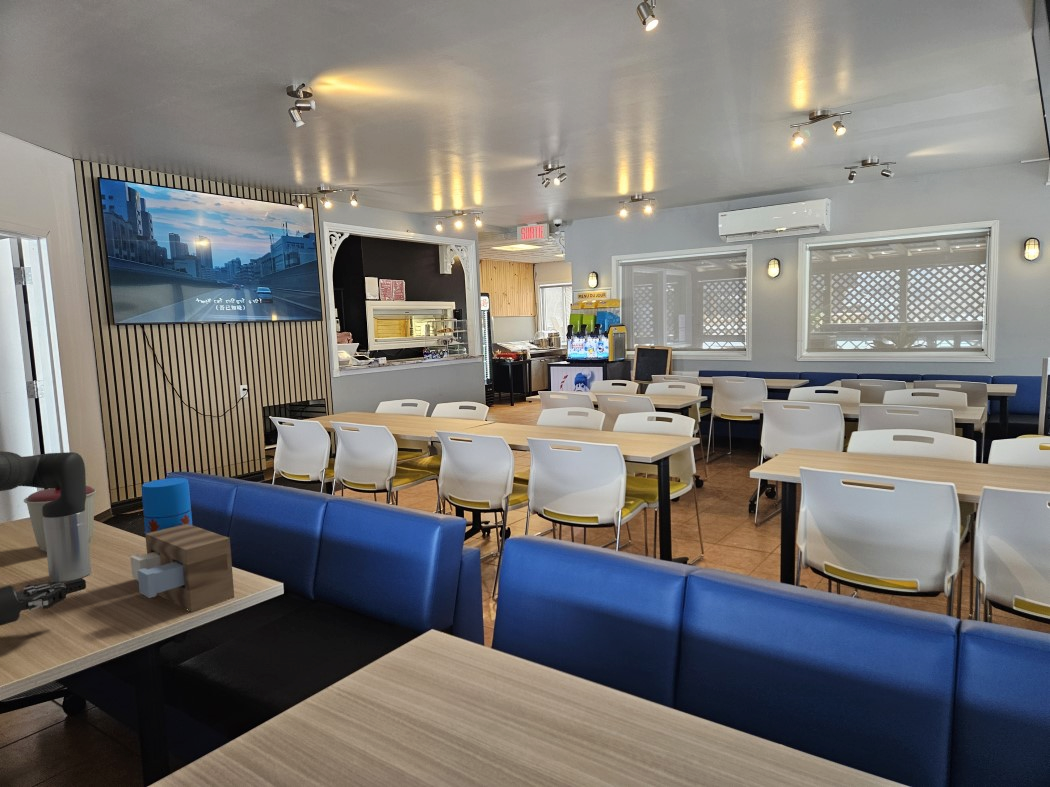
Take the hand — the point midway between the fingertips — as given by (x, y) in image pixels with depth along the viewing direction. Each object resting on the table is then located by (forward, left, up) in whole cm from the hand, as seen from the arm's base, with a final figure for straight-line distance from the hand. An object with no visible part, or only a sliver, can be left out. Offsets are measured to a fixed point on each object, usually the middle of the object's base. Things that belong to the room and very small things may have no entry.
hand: (84, 583), depth 145 cm
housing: (+6, +20, -8) cm, 22 cm away
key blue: (+12, +13, -3) cm, 18 cm away
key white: (0, +16, -3) cm, 17 cm away
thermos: (-11, +23, -8) cm, 27 cm away
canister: (-66, +15, -8) cm, 68 cm away
